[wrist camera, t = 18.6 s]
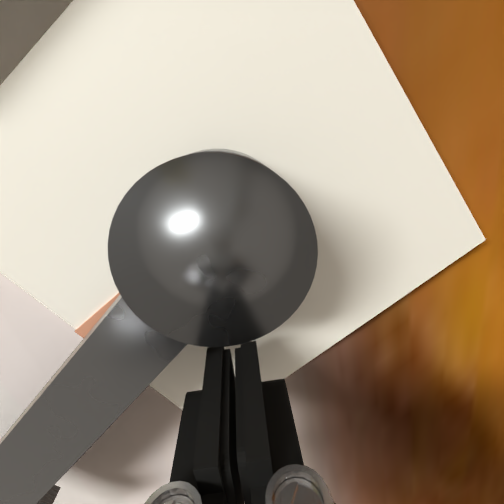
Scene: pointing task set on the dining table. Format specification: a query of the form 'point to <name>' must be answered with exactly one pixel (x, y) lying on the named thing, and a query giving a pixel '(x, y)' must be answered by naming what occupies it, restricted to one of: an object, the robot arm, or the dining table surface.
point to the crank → (168, 301)
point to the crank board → (223, 137)
